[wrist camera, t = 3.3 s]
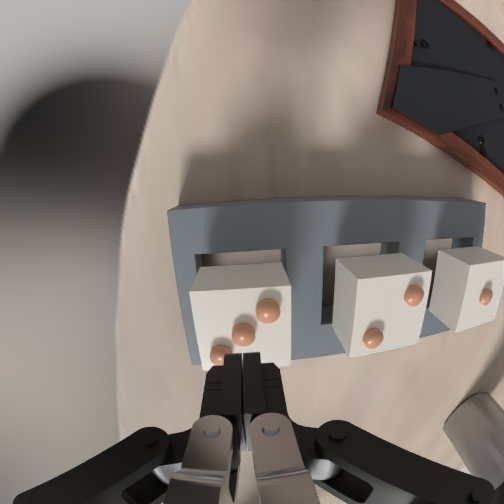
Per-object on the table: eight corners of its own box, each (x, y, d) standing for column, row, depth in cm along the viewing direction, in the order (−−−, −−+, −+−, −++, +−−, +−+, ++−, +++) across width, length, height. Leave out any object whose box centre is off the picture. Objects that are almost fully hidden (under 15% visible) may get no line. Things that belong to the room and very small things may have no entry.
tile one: (474, 244, 18) (511, 260, 13) (465, 299, 19) (497, 321, 15) (434, 248, 18) (473, 267, 13) (425, 307, 19) (457, 335, 15)
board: (465, 198, 21) (485, 203, 18) (450, 312, 24) (465, 325, 21) (177, 205, 20) (167, 210, 17) (197, 344, 24) (192, 364, 21)
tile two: (398, 251, 18) (436, 273, 13) (390, 314, 19) (420, 346, 15) (333, 256, 18) (360, 282, 13) (330, 323, 19) (351, 361, 15)
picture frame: (373, 114, 19) (522, 215, 22) (384, 110, 17) (532, 218, 20) (396, -26, 14) (531, 87, 17) (403, -34, 12) (541, 86, 15)
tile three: (280, 259, 18) (292, 288, 13) (281, 328, 19) (291, 369, 15) (201, 264, 18) (187, 294, 13) (210, 332, 19) (202, 374, 15)
